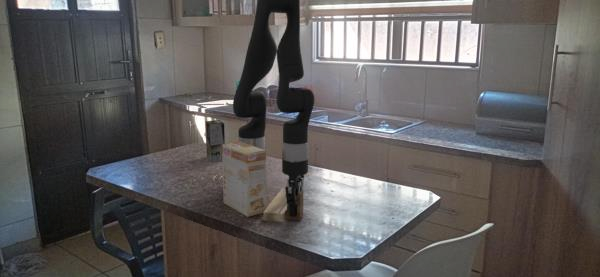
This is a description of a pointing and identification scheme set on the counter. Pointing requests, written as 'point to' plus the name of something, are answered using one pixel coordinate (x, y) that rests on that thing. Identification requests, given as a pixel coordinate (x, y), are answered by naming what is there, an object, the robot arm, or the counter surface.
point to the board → (277, 208)
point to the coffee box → (214, 139)
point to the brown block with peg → (299, 207)
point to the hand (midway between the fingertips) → (294, 212)
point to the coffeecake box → (244, 178)
